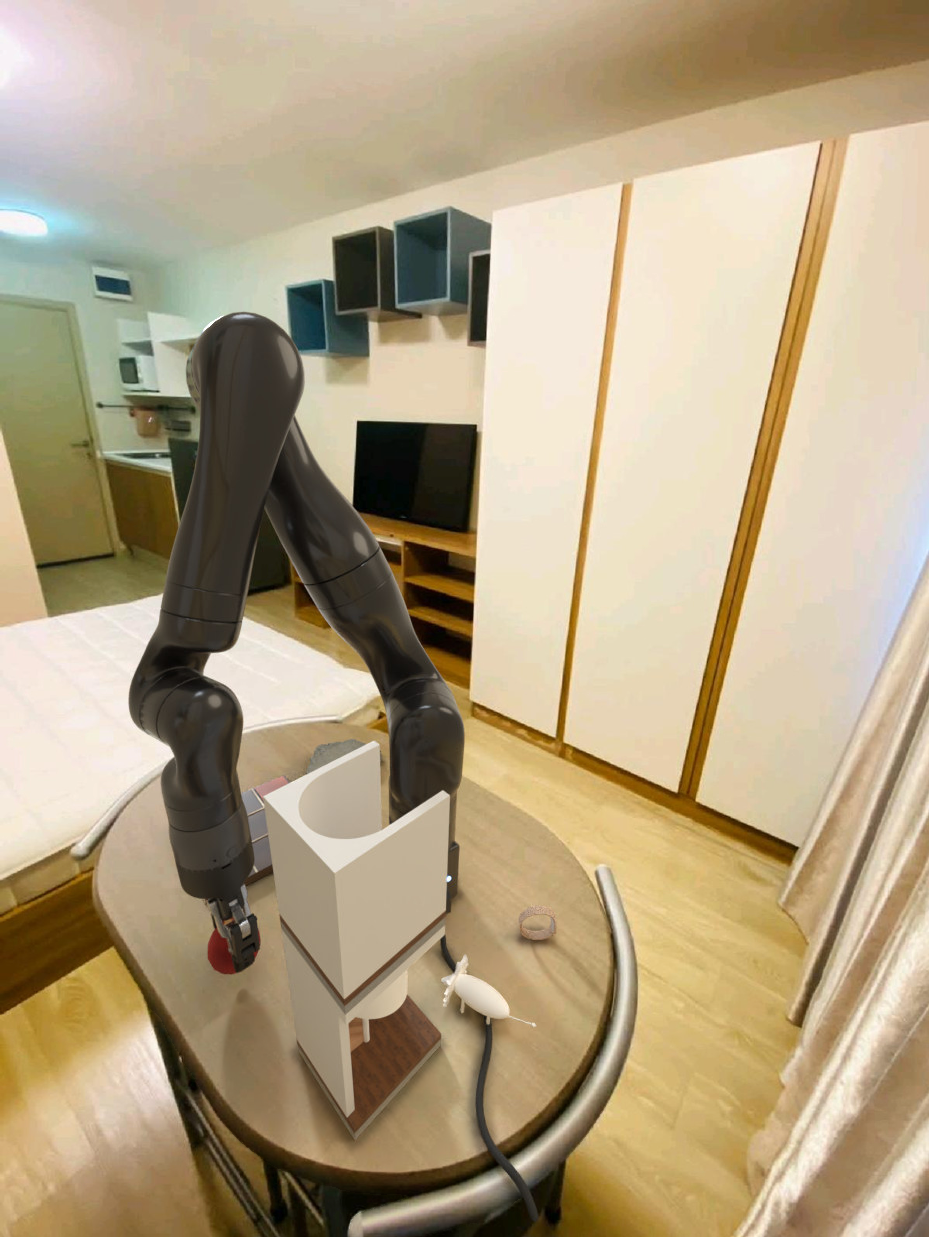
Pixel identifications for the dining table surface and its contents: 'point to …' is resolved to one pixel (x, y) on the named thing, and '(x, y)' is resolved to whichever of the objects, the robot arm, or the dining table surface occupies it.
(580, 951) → the dining table surface
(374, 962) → the white wooden tower stand
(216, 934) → the onion
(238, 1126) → the dining table surface
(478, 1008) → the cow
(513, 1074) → the dining table surface
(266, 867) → the grid board
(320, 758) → the rock
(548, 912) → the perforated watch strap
